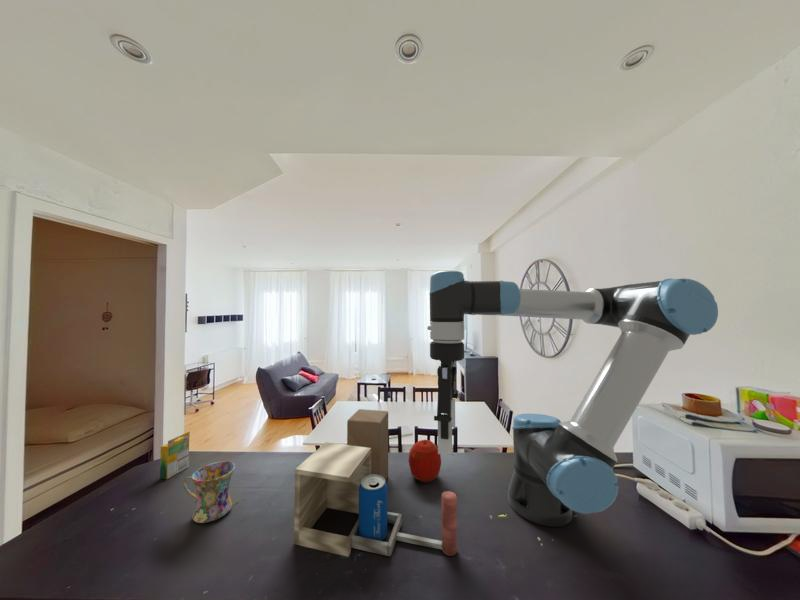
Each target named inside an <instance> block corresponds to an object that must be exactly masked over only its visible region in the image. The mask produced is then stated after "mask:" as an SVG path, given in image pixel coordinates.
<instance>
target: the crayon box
mask: <svg viewBox="0 0 800 600" xmlns="http://www.w3.org/2000/svg"><path fill="white" fill-rule="evenodd" d="M190 433H191V432H190V431H187V432H185V433H183V434H181V435H179V436H176V437H174V438H171V439H169V440H167V443H166V444H163V445H161V446H160V452H159V453H160V456H159V457H160V461H159V463H160V464H159V465H160V466H159V479H160V480H169V479H170V478H172V477H174V476H175V475H177V474H179V473H181V472H182V471H184V470H186V469H188V468H190V467H189V465H190Z"/></svg>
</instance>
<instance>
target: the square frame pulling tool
mask: <svg viewBox="0 0 800 600" xmlns="http://www.w3.org/2000/svg"><path fill="white" fill-rule="evenodd" d="M457 500H458V498H457V494H456V493H455V492H453V491H451V490H450V491H448V490H447V491H446V490H445V491H443V492H442V493H441V540H438V539H435V538H434V539H433V538H429V537H424V536H418V535H413V534H409V533H404V532H400V529H401V527H402V523H403V513H397V512H391V511H387V524H392V525H393V527H392V530H391V534H390V537H389V540H388V542H387V541H383V540H382V541H378V540H374V539H369V538H364V537H359V517H358V518H357V520H356V522H355V524H354V526H353V528H352V529H351V531H350V533H349V534H348V536H347V537H351V549H355V550H361V551H365V552H369V553H373V554H378V555H381V556H382V555H383V556H386V557H392V554H393V551H394V548H395V545H396V541H398V542H403V543H408V544H413V545H417V546H418V545H419V546H423V547H427V548H430V549H431V548H432V549H436V550H442V551H441V552H443V554H445V555H446V556H449V557H452V556H455V555H456V554H457V553H458V515H457V514H458V508H457V507H458V504H457V503H458V501H457Z"/></svg>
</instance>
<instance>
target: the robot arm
mask: <svg viewBox="0 0 800 600" xmlns="http://www.w3.org/2000/svg"><path fill="white" fill-rule="evenodd" d="M429 282H430V283H429V293H428V294H429V321H430V322H429V324H430V325H427V330H428V331H429V335H430V337H429V338H430V340H432V341H431V342H430V343H429V357H430V358H431V360H434V361H440V365H438V367H437V371H436V374H437V409H436V412H437V413H436V415H434V416H433V421H435V422H436V421H437V448H438V454H440V455H441V456H442V455H443V456H453V428H454V429H455V428H456V399H458V398H459V394H458V393H456V386H455V385H456V384H455V383H456V381H457V380H456V379H457V366H455V362H459V361H463V360H464V358H465V343H464V342H463V340H465V315H470V316H476V315H479V316H501V317H506V316H507V317H523V318H541V319H542V318H545V319H546V318H547V319H561V320H562V319H565V320H582V321H583V322H584V323H586V324H590V325H591V324H592V325H603V326H608V327H613V328H619V329H620V331H621V333H620V335H619V337H618V339H617V340H616V342H615V343H614V345H613V348H612V349H611V351H610V352H609V354H608V355H607V357H606V359H605V361H604V362H603V365H602V366H601V368H600V369H599V371H598V372H597V374H596V376H595V377H594V379H593V381H592V383H591V384H590V386H589V387H588V390H587V391H586V393H585V394H584V396H583V397H582V400H581V401H580V403H579V405H578V406H577V408H576V409H575V411H574V412H573V415H572V416H571V418H570V420H569V421H568V420H567V421H561V420H560V419H559V418H557V417H556V416H553V415H549V414H542V413H519V414H516V415H515V416H514V418H513V421H512V422H513V425H512V432H513V433H512V437H513V440H512V441H513V469H514V470H513V472H512V476H511V479H510V482H509V483H508V484H509V485H508V488H507V501H508V504H509V506H510V507H511V508H512V509H513V511H514V512H515V513H517V514H518V515H519V516H521V517H522V518H524V519H526V520H528V522H532V523H534V524H537V525H539V526H544V527H551V528H552V527H553V528H554V527H555V528H556V527H563V526H566V525H568V524H569V523H570V522H571V521H572V519H573V512H576V513H580V514H584V515H589V514H592V513H594V514H597V513H600V512H603V511H605V510H606V509H608V508H609V507H611V505H612V504H613V503H614V501H616V499H617V496H618V495H619V485H618V481H619V480H618V477H617V475H616V473H615V472H614V468H615V466H616V464H617V462H618V458H617V455H616V453H615V450H614V447H615V445H616V444H617V442H618V441H619V439H620V437H621V436H622V434H623V432H624V430H625V429H626V426H627V424H628V423H629V422H630V420H631V418H632V416H633V415H634V413H635V411H636V409H637V407H638V406H639V404H640V403H641V400H642V399H643V397H644V395H645V394H646V392H647V390H648V388H649V387H650V385H651V384H652V381H653V380H654V378H655V377H656V375H657V373H658V371H659V369H660V368H661V366H662V364H663V362H664V360H665V359H666V358H667V355H668V354H669V352H672V351H675V350H681V349H683V348H684V346H685V345H686V342H687V341H688V339H689V337H690V335H693V336H694V335H701V334H703V333H707V332H708V331H710V330H712V329H713V327H714V326H715V325H716V323H717V320H718V317H719V307H718V303H717V301H716V300H715V296H714V294H713V293H712V292H711V291H710V289H709V288H708V287H707V286H705V285H704V284H703V283H701V282H700V281H698V280H694V279H690V278H683V277H682V278H664V279H663V280H657V281H648V282H639V283H633V284H632V283H629V284H624V285H620V286H613V287H603V288H587V289H585V290H584V291H576V290H575V291H572V290H571V291H570V290H552V289H551V290H548V289H533V288H532V289H527V288H520V287H519V285H518V284H517V283H516V282H514V281H505V280H496V281H495V280H486V281H485V280H484V281H481V280H480V281H473V280H472V281H471V280H465V277H464V273H463V272H462V271H459V270H440V271H436V272H434V273H432V275H430V281H429Z"/></svg>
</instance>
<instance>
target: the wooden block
mask: <svg viewBox="0 0 800 600" xmlns="http://www.w3.org/2000/svg"><path fill="white" fill-rule="evenodd" d="M346 423H347V425H346V427H347V429H346V431H347V433H346V442H347V443H346V445H351V446H359V447H367V448H371V475H373V474H375V475H380V476H382V477H383V478H384V479H385V482H386V481H387V480H388V477H389V411H388V410H379V409H378V410H376V409H360V408H359V409H357V411H355V413H353V414H352V415H351V416H350V417H349V418H348V419H347V422H346ZM386 483H387V482H386Z"/></svg>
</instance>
